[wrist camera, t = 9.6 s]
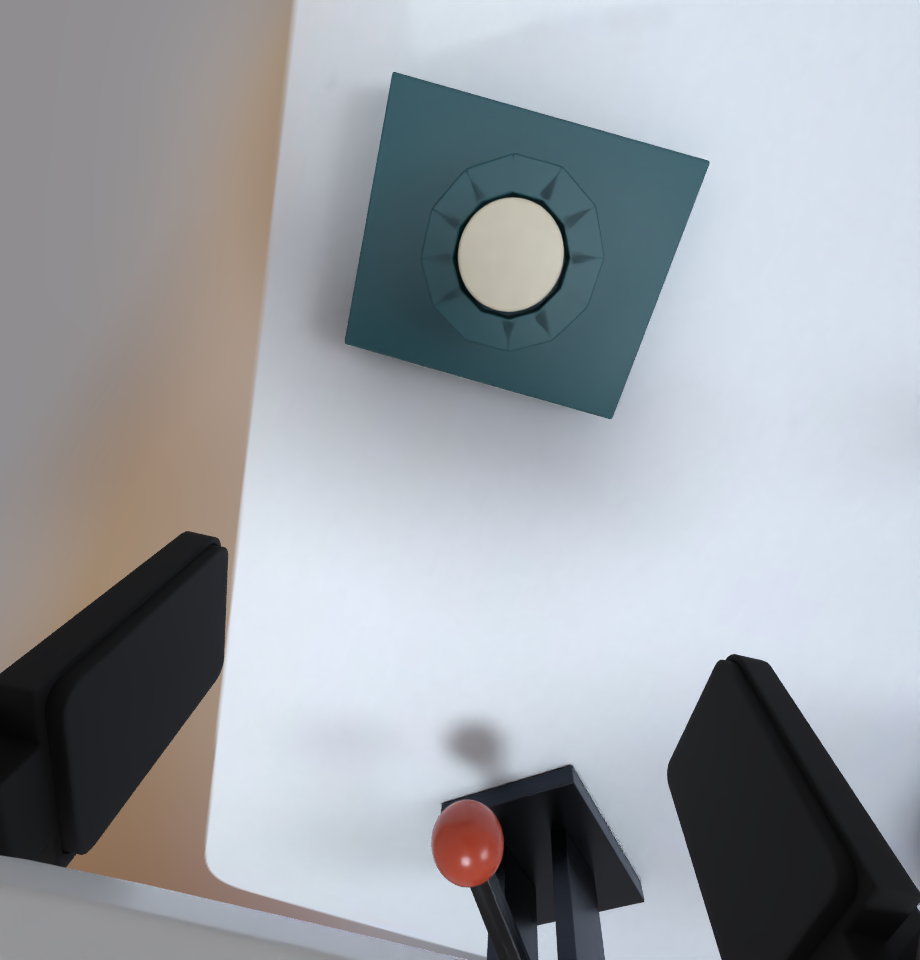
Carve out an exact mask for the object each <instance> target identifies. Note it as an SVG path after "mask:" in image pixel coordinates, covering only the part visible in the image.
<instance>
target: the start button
mask: <svg viewBox="0 0 920 960" xmlns="http://www.w3.org/2000/svg"><path fill="white" fill-rule="evenodd" d="M563 258H564V247H563V240H562V236H561V233H560V230H559V228H558V226H557V224H556V222H555V220H554V219H553V218H552V216H551V215H550V214H549V213H548V212H547V211H546V210H545V209H544V208H542V207H541V206H540V205H538V204H536V203H534V202H532V201H530V200H527V199H523V198H514V197H511V198H503V199H499V200H496V201H493V202H491V203H489V204H487V205H485V206H484V207H483V208H481V209H480V210H479V211H478V212H477V213H476V214H475V215H474V216H473V217H472V218H471V219H470V221H469V222H468V224H467V225H466V227H465V229H464V231H463V233H462V236H461V239H460V243H459V248H458V265H459V270H460V274H461V277H462V280H463V282H464V284H465V286H466V287H467V289H468V291H469V292H470V293H471V294H472V295H473V297H475V298H476V299H477V300H478V301H479V302H481V303H482V304H483V305H485V306H487V307H489V308H492V309H494V310H498V311H505V312H513V311H520V310H523V309H526V308H529V307H531V306H533V305H535V304H536V303H538V302H539V301H541V300H542V299H543V298H544V297H545V296H546V295H547V294H548V293H549V292H550V291H551V289H552V288H553V287H554V285H555V283H556V282H557V280H558V278H559V275H560V272H561V269H562V265H563Z"/></svg>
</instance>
